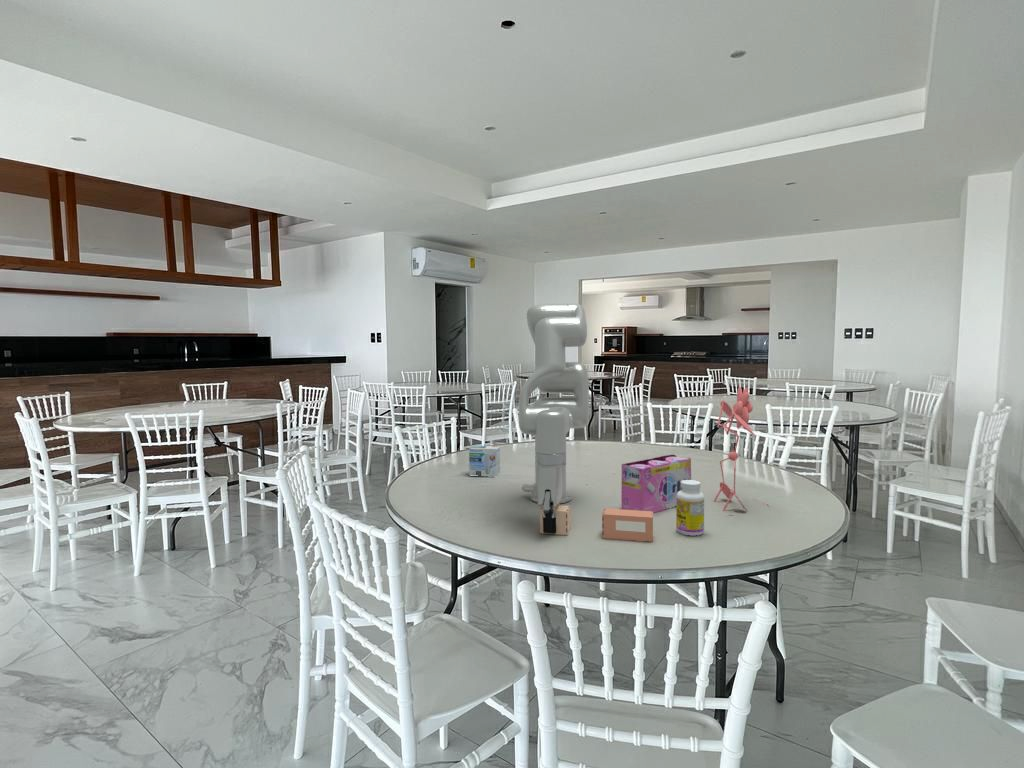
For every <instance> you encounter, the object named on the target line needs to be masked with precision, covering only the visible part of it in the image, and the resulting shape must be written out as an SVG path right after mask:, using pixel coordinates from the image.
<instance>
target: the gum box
mask: <svg viewBox="0 0 1024 768" xmlns="http://www.w3.org/2000/svg"><path fill="white" fill-rule="evenodd" d="M683 480H692V458H691V457H688V458H684V457H679V456H678V457H677V455H675V454H666V455H660V456H656V457H651V458H647V459H642V460H638V461H636V460H635V461H631V462H626V463H622V464H621V509H622V510H638V511H653V514H654V512H655V513H658V512H662V511H665V509H666V510H669V509H673V508H675V506H676V507H677V493H678V492H679V491H680V490H682V488H681V481H683ZM672 507H673V508H672ZM668 508H669V509H668ZM661 510H662V511H661Z"/></svg>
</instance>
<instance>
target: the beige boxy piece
mask: <svg viewBox="0 0 1024 768" xmlns="http://www.w3.org/2000/svg"><path fill="white" fill-rule="evenodd" d="M550 509H551V510H552V508H550ZM571 509H572V508H571V505H562V504H560V505H556V506H555V517H556V533H555V534H554V535H560V536H561V535H562V536H568V535H569V533H570V531H571V529H572V525H571V524H572V521H571V519H572V518H571V517H572V514H571V513H572V512H571V511H572V510H571ZM543 511H544V504H542V505H541V508H540V509H539V518H540V519H539V533H540V534H546V535H553V534H552V533H544V532H543Z"/></svg>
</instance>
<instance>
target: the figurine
mask: <svg viewBox="0 0 1024 768" xmlns="http://www.w3.org/2000/svg"><path fill="white" fill-rule="evenodd" d="M736 393H737V394H736V402H735V403H734V404H733V405H732V407H731V405H729V403H728V402H726V401H725V400H724V399H723V400H722V401H720V411H719V416H718V418H717V419H718V420H717V426H718V427H723V428H724V432H725V434H726V435H727V436H728V435H729V433H730V432H731V433H733V434H734V435H735V436H736V441H735V446H734V451H730V452H729V453H728V454H727V455H728V457H727V458H725V459H724V458H723V459H722V460H720V461H719V464H720V471H721V476H722V477H721V478H722V481H720V482H719V491H718V492H717V494H716V495H715V497H714V499H713V502H716V501H717V500H718V498H719V496H720V494H721V492H722V493H723V495H725V496H726V498H727V502H726V503H725V505H724V506H723V508H722V510H723V511H725V510H726V509H727V507H728V505H729V503H730V501H731V500H732V497H733V496H735V498H736V499H737V501H738V502H739V503H740V505H741V506H742V508H743V509H744V510H745V512H748V510H747V508H746V507H745V505H744V504H743V503H742V501H741V500H740V499H739V498H738V497H739V496H738V495H736V471H737V470H736V467H737V460H738V458H739V454H738V452H736V451H737V447H738V443H739V439H740V435H739V434H738V433H737V432H735V431H734V430H732V428H731V427H732V424H733V421H734V419H735V421H736V428H737V430H739V429H740V428H741V426H742V427H743V429H744V430H746V431H747V432H749V433H750V434H751V435H752V436H754V435H755V433H754V431H753V430H752V429H751V427H750V426H749V421H750V413H751V412H753V407H754V406H753V404H752V402H751V401H750V400H749V399H750V392H749V388H748V387H745V388H744V389H742V387H741V386H738V388H737V392H736ZM723 412H724V413H725V415H727V416H728V417H729V418H728V419H727V421H726V422H725V423H723V424H721V420H722V419H721V418H722V413H723ZM728 423H729V425H728ZM727 425H728V426H727ZM728 460H730V461H733V462H734V466H733V488H730V487H729V486H728V485H727V483H725V478H724V470H723V464H722V462H724V461H728ZM760 503H761V504H763V502H762V501H760ZM764 505H766V506H767V507H768V508H769V510H771V508H770V507H769V506H770V505H769V504H765V503H764ZM729 516H731V517H733V516H734V515H733V514H729Z"/></svg>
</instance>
